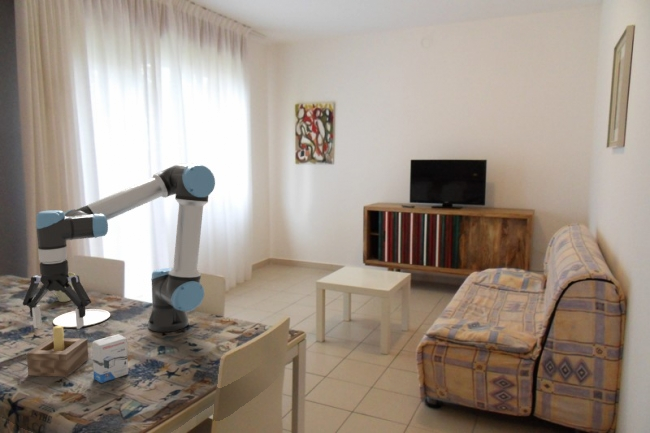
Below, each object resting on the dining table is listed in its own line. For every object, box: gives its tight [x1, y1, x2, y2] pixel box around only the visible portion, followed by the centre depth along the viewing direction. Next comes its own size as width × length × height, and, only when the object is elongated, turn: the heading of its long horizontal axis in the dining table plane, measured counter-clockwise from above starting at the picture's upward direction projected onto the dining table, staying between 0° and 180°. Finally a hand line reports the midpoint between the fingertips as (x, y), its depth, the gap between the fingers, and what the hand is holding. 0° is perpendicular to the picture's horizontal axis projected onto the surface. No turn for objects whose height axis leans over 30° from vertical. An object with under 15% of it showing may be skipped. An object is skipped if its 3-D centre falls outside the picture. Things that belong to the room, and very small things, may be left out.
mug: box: [47, 272, 76, 303], centre depth 207 cm, size 11×10×12 cm
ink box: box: [91, 333, 129, 384], centre depth 138 cm, size 9×5×12 cm, turn 141°
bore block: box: [26, 337, 89, 377], centre depth 143 cm, size 12×12×7 cm
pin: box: [52, 325, 65, 351], centre depth 143 cm, size 3×3×12 cm
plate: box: [52, 308, 111, 329], centre depth 186 cm, size 21×21×1 cm
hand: (59, 326), depth 143 cm, fingers open, 13 cm apart
